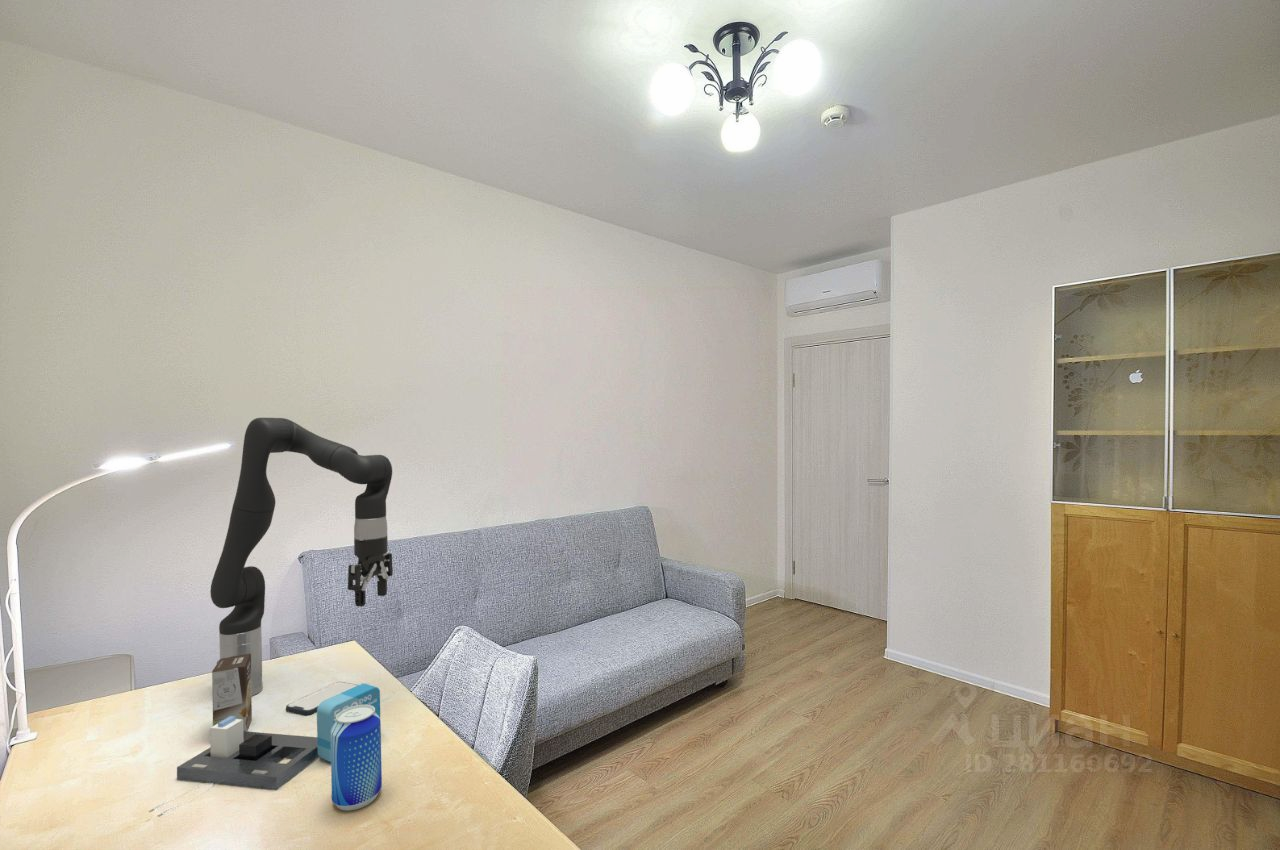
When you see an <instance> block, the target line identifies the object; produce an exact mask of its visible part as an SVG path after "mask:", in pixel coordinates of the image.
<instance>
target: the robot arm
mask: <svg viewBox="0 0 1280 850" xmlns="http://www.w3.org/2000/svg"><path fill="white" fill-rule="evenodd" d="M243 438H244V439H243V444H242V446H243V447H242V453H241V454H242V456H241V466H240V472H239V477H238V481H237V482H238V483H237V488H236V492H235V497H234V501H233V503H232V507H231V508H232V509H231V513H230V518H229V523H228V528H227V533H226V537H225V540H224V544H223V547H222V551H221V554H220V557H219V559H218V560H219V561H218V562H217V565H216V569H215V571H214V574H213V576H212V580H211V584H210V593H209V594H210V599H211V601H212V604H213V605H214V606H215V607H217V608H220V609H228V608H233V609H232V610H231V612H229V614H227V615H226V616H225V617H224V618H223V619H222V620H221V621H220V622H219V625H218V628H219V629H218V631H219V659H218V660H217V661H216V664H217V663H218V662H219V660H220V659H222V658H228V657H232V656H237V655H244V654H251V693H252V697H253V696H255V695H257V694H258V693H260V692H262V690H263V651H262V649H263V647H262V646H263V644H262V619H263V617H264V614H265V603H266V602H265V601H266V599H265V598H266V582H265V577H264V575H263V572H262V570H261V569H260V568H258V567H257V566H251V565H250V566H245V565H246V563H247V561H248V558H249V557H250V555H251V553H252V552H253V550H254V549H255V548H256V546H258V544H259V543H260V541H261V540H262V539H263V538H264V536H265V535H266V533H268V530H269V528H270V527H271V525H272V521H273V517H274V511H275V509H276V508H275V507H276V498H275V494H274V491H273V488H272V487H271V485H270V481H269V479H268V475H267V467H268V462H269V461H268V460H269V457H270V455H271V454H272V453H275V454H277V453H278V454H279V453H284V452H288V453H297V454H302V455H305V456H307V457H308V458H309V459H310V460H311V462H313V464H315V465H317V466H319V467H321V468H323V469H326V470H328V471H331V472H335V473H337V474H339V475H340V476H342V477H343V478H344V479H345V480H347V481H349V482H351V483H353V484H358V485H365V486H366V487H365V490H364V491H363V492H362V493H360V494H358V495H357V496H355V497H356V498H355V500H354V526H353V552H354V553H353V554H354V556H355V557H356V558H357V559H358V561H357V564H349V565H348V571H347V573H348V574H347V590H348V591H353V592H354V604H355V606H356V607H365V606H366V604H367V603H366V587H367V585H368V583H369V582H370V581H371V579H372V578H374V577H375V578H376V580H377V582H376V587H377V593H376V594H377V596H379V597H385V596H386V595H388V580H389V579H390V577H392V576H393V575H394V570H393V569H394V567H393V554H392V553H389V552H388V541H389V540H388V522H387V521H388V520H387V498H388V494H389V490H390V486H391V484H392V483H391V482H392V479H393V478H392V477H393V466H392V463H391V461H390V459H389V458H388V457H387V456H385V455H382V454H370V455H360V454H359V453H358V452H357V450H356V449H354V448H352V447H350V446H348V445H345V444H342V443H339V442H337V441H334V440H330V439H328V438H324V437H322V436H320V435H317V434H316V433H314V432H312V431H309V430H308V429H306V428H305V427H303V426H301V425H300V424H298V423H296V422H294V421H293V420H290V419H288V418H284V417H256V418H254V419H252V420H251V421H250V422H249V423H248V424H247V427H246V429H245V433H244V437H243ZM387 569H388V570H387Z"/></svg>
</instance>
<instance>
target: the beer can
mask: <svg viewBox="0 0 1280 850" xmlns="http://www.w3.org/2000/svg"><path fill="white" fill-rule="evenodd" d="M381 722H382V721H381V716H380V717H379V716H378V715H377V713H376V712H375V708H374V707H373V706H371V705H357V706H353V707H349V708H347V709H345V710H343V711H341V712H340V713H338V714H337V716H336V721H335V723H334V725H333V726H332V728H331V762H330V768H331V769H330V770H331V771H330V772H331V775H330V776H331V777H330V779H331V801H332V803H333V804H334V805H335V806H336V807H337V808H338V809H339V810H341V811H344V812H345V811H346V812H347V811H349V812H350V811H354V810H359V809H362V808H365V807H366V806H368V805H370V804H372V802H374V800H375V799H377V796H378V794H379V793H380V791H381V790H382V786H383V785H382V784H383V782H382V781H383V780H382V779H383V778H382V777H383V775H382V734H381V733H382V732H381V731H382V728H381V727H382V726H381V725H382V724H381Z"/></svg>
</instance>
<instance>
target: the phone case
mask: <svg viewBox="0 0 1280 850" xmlns="http://www.w3.org/2000/svg"><path fill="white" fill-rule="evenodd" d="M358 685H359V684H354V683H349V682H344V681H336V682H334V683H333V682H332V684H329V685H327V686H324V687H322V688H320V689H319V690H317V691H314V692H313V693H310V694H308V695H305V696H304V697H301V698H300V699H297V700H295V701H293V702H291V703H288V704H287V705H285V711H286V712H287V713H289V714H296V715H300V716H304V717H305V716H306V717H307V716H312V715H314V714H317V708H318V706H319V704H320V703H321V702H323V701H324V700H326V699H329V698H331V697H333V696H335V695H338V694H340V693H342V692H344V691H347V690H349V689H351V688H353V687H356V686H358Z"/></svg>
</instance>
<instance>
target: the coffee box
mask: <svg viewBox="0 0 1280 850" xmlns="http://www.w3.org/2000/svg"><path fill="white" fill-rule="evenodd" d="M218 660H219V662H218V663H217V662H216V664H215V666H214V668H213V669H212V670H211V671H212V672H211V673H212V674H211V676H212V677H211V678H212V679H211V680H212V684H211V685H212V689H211V690H212V691H211V692H212V696H211V697H212V727H213V726H214V725H216V724H218V723H219V722H221V721H223V720H225V719H226V718H228V717H230V716H235V719H243V731H249V730H248V729H249V727H250V724H251V722H252V720H253V716H252V715H253V712H252V711H253V705H252V703H253V702H252V697H253V696H252V693H251V654H244V655H237V656H232V657H228V658H222V659H220V658H219V659H218Z"/></svg>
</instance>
